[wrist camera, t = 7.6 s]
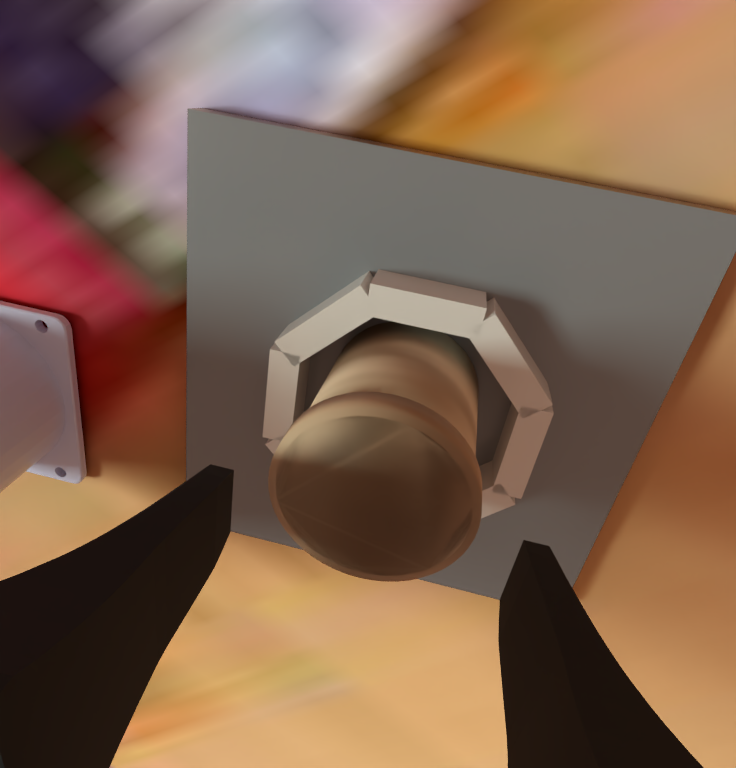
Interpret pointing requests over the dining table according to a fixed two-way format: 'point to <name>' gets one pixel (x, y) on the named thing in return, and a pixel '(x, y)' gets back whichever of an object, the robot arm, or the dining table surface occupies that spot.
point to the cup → (385, 458)
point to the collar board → (439, 315)
